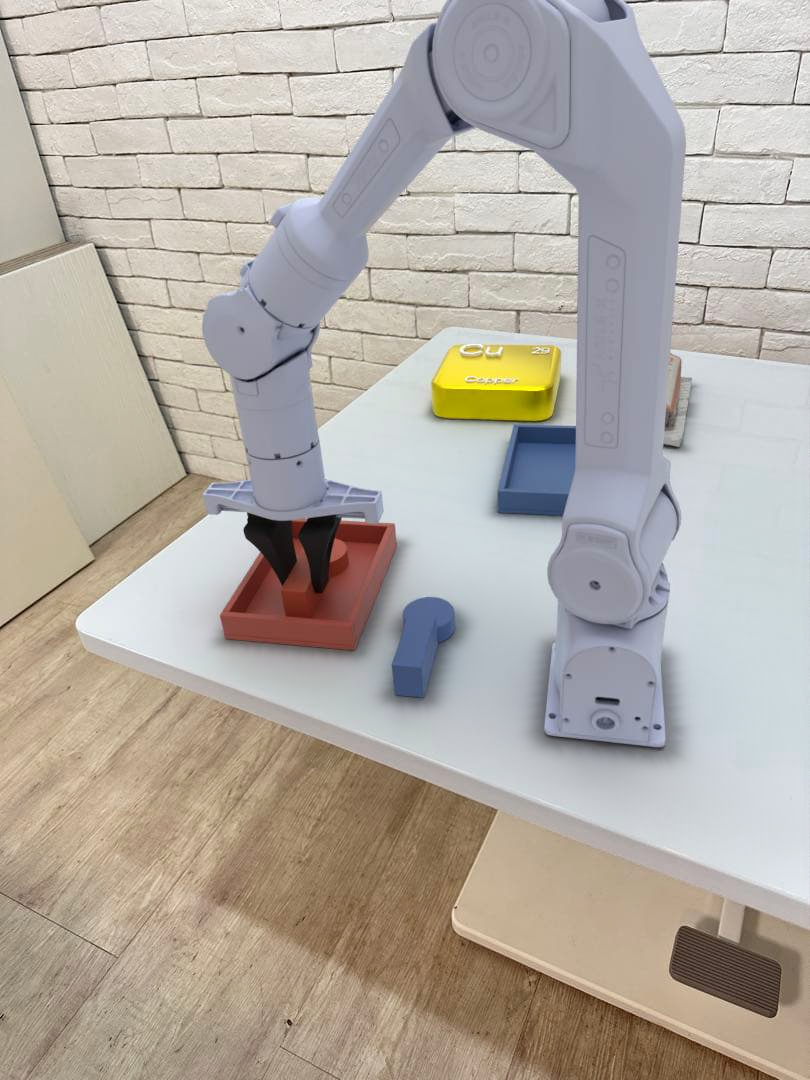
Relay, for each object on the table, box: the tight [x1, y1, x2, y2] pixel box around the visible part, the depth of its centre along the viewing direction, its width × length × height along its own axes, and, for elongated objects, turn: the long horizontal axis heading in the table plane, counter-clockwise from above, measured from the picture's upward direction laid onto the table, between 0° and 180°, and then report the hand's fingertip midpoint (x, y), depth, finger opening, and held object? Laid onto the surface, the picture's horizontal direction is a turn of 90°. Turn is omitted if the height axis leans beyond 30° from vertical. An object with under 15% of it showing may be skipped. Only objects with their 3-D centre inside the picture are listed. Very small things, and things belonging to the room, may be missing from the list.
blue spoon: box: [391, 596, 456, 699], centre depth 62 cm, size 10×4×3 cm, turn 168°
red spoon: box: [281, 539, 349, 619], centre depth 70 cm, size 10×4×3 cm, turn 168°
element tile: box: [430, 343, 562, 422], centre depth 102 cm, size 15×15×5 cm
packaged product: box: [663, 352, 693, 448], centre depth 95 cm, size 18×5×10 cm
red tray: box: [219, 518, 398, 651], centre depth 70 cm, size 15×11×2 cm
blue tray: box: [497, 423, 576, 517], centre depth 84 cm, size 15×11×2 cm
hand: (306, 585), depth 68 cm, fingers closed on red spoon, 2 cm apart
